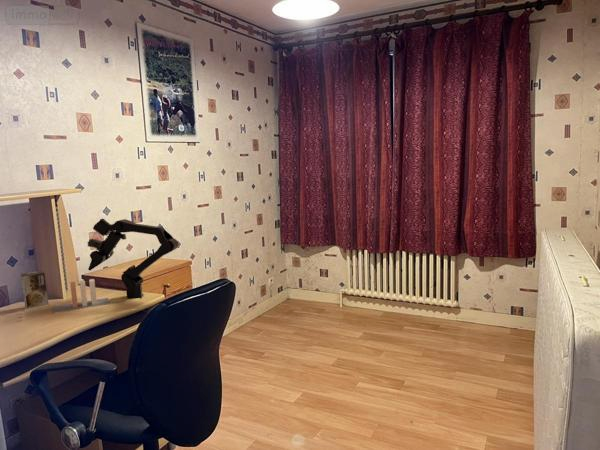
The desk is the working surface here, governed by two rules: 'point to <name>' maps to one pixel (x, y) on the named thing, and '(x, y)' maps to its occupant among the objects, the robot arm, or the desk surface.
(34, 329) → the desk surface
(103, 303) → the mat
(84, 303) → the domino
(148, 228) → the robot arm
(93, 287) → the domino
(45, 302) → the coffee box
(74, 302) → the domino
